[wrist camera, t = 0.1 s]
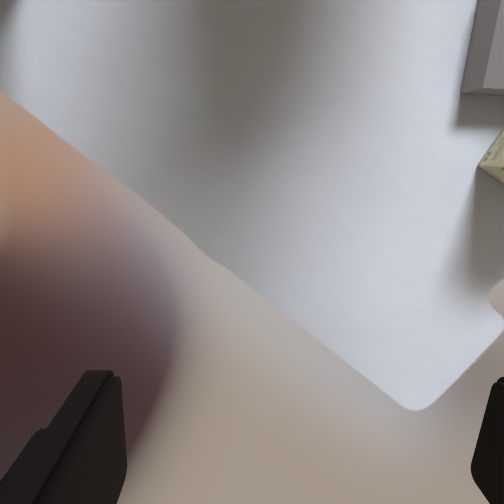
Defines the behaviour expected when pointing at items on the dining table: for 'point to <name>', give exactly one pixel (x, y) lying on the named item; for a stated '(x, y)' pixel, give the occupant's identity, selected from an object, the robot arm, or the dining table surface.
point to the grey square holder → (486, 51)
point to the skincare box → (495, 159)
